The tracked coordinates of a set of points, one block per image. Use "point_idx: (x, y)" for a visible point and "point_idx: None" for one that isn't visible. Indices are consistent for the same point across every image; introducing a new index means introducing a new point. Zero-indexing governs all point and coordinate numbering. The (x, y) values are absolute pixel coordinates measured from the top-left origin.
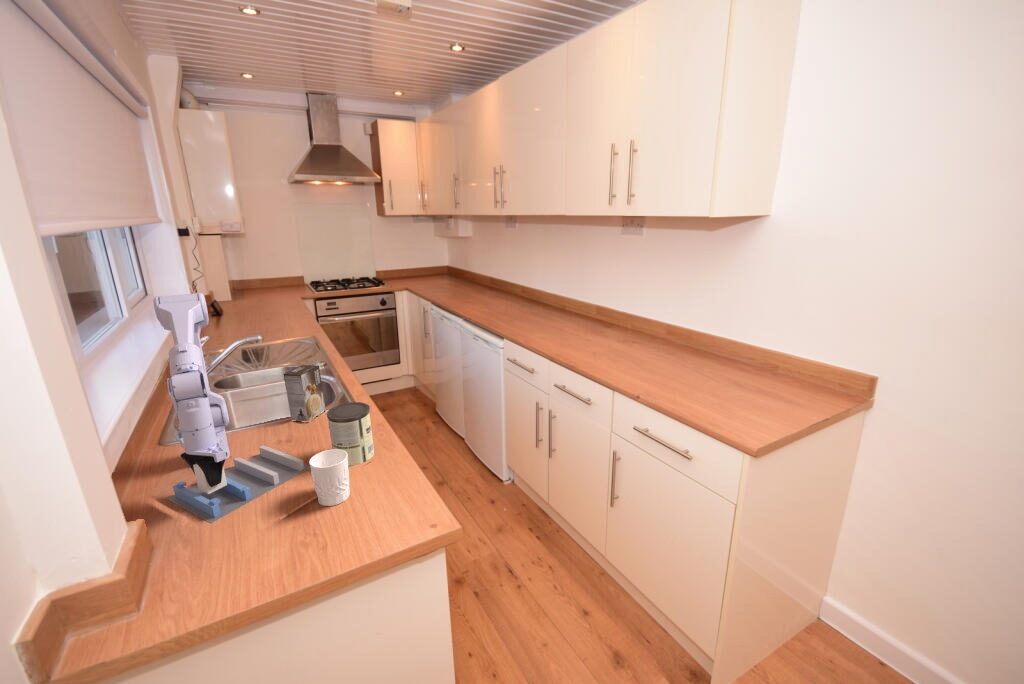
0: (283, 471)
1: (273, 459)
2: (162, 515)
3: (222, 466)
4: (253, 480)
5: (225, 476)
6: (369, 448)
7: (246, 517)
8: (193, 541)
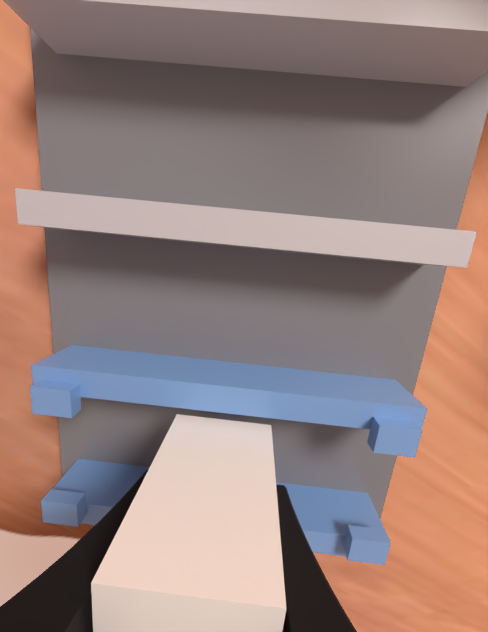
0: (361, 137)
1: (192, 57)
2: None
3: (345, 619)
4: (274, 277)
5: (274, 464)
6: None
7: (446, 444)
8: (374, 567)
